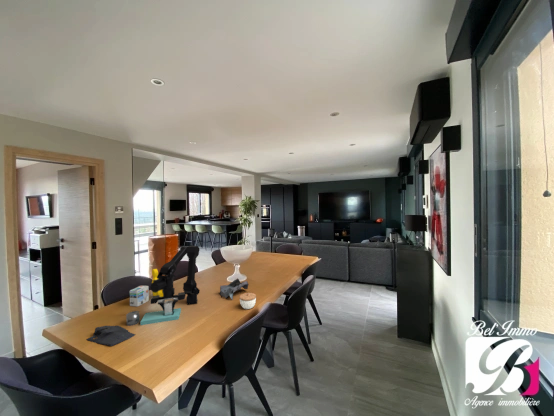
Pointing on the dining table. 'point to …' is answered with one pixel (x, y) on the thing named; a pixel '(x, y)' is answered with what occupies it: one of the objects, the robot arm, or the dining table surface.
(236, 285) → the dark grey angular piece
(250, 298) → the lidded jar
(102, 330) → the dark slate chunk
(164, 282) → the robot arm
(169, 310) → the square bit
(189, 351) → the dining table surface
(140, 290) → the light bulb box
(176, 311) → the bore block
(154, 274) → the figure statuette
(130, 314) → the round bit
